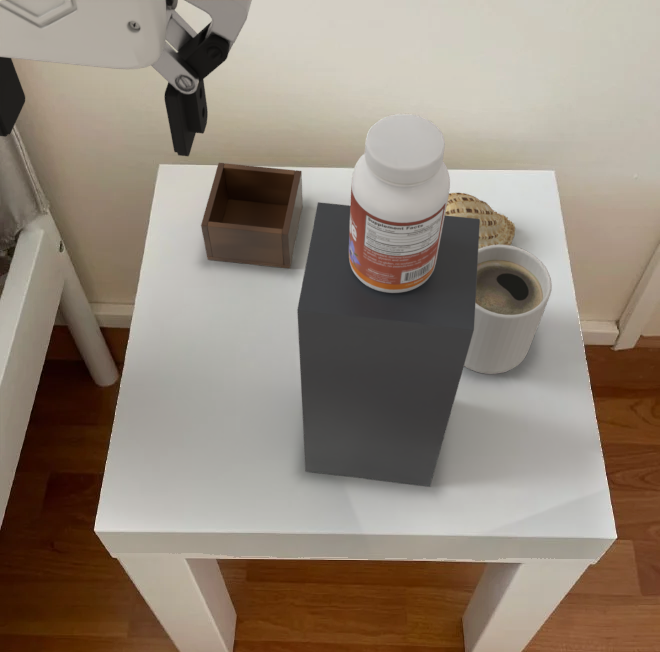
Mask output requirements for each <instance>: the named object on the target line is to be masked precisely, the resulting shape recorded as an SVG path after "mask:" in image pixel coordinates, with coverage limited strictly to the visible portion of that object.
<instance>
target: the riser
mask: <svg viewBox="0 0 660 652" xmlns="http://www.w3.org/2000/svg"><path fill="white" fill-rule="evenodd" d="M479 227H480V219H475V218H466V217H456V216H446V215H445V217H444V222H443V228H442V233H441V239H440V244H439V250H438V256H437V260H436V264H435V268H434V271H433V272H432V274H431V276H430V277H429V278H428V280H427V281H426V282H425V283H423V284H422V285H420V286H419V287H417V288H415V289H413V290H410V291H406V292H401V293H387V292H381V291H377V290H375V289H372V288H370V287H368V286H366V285H365V284H364V283H362V282H361V281H360V280H359V279H358V278H357V276H356V275H355V274H354V272H353V270H352V268H351V265H350V261H349V231H350V205H348V204H340V203H339V204H338V203H337V204H336V203H329V202H320V201H319V202H317V204H316V210H315V213H314V221H313V226H312V231H311V236H310V242H309V246H308V250H307V251H308V252H307V257H306V262H305V267H304V273H303V279H302V284H301V289H300V293H299V294H300V295H299V300H298V305H297V310H296V311H297V331H298V333H297V334H298V351H299V371H300V372H299V373H300V389H301V411H302V430H303V431H302V434H303V451H304V452H303V453H304V472H307V473H314V474H323V475H331V476H339V477H346V478H347V477H348V478H355V479H356V478H357V479H362V480H371V481H379V482H386V483H387V482H388V483H395V484H405V485H410V486H411V485H412V486H420V487H426V488H427V487H428V488H431V486H432V482H433V477H434V474H435V471H436V468H437V464H438V461H439V456H440V453H441V449H442V446H443V442H444V439H445V435H446V431H447V429H448V425H449V421H450V418H451V414H452V411H453V406H454V403H455V399H456V396H457V392H458V388H459V384H460V381H461V377H462V374H463V370H464V368H465V366H464V364H465V360H466V357H467V353H468V349H469V346H470V342H471V339H472V335H473V332H474V321H475V302H476V283H477V264H478V246H479Z"/></svg>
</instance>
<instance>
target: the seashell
mask: <svg viewBox="0 0 660 652" xmlns="http://www.w3.org/2000/svg"><path fill="white" fill-rule="evenodd" d="M445 215H446V216H456V217H466V218H475V219H480V227H479V246H478V249H480V248H483V247H486V246H490V245H510V246H512V243H513V240H514V238H515V235H516V225H515V223H513V221H512V220H510V219H509V217H508V216H507V217H506V215H504V214H503V213H502V214H500V213H498V212H497V211H495V210H493V208H492V206H490V204H488V203H487V202H486V201H484V200H481V199H479V198H477V197H476V196H474V195H472V194H469V193H466V192H465V193H464V192H449V196H448V201H447V207H446V212H445Z"/></svg>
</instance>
